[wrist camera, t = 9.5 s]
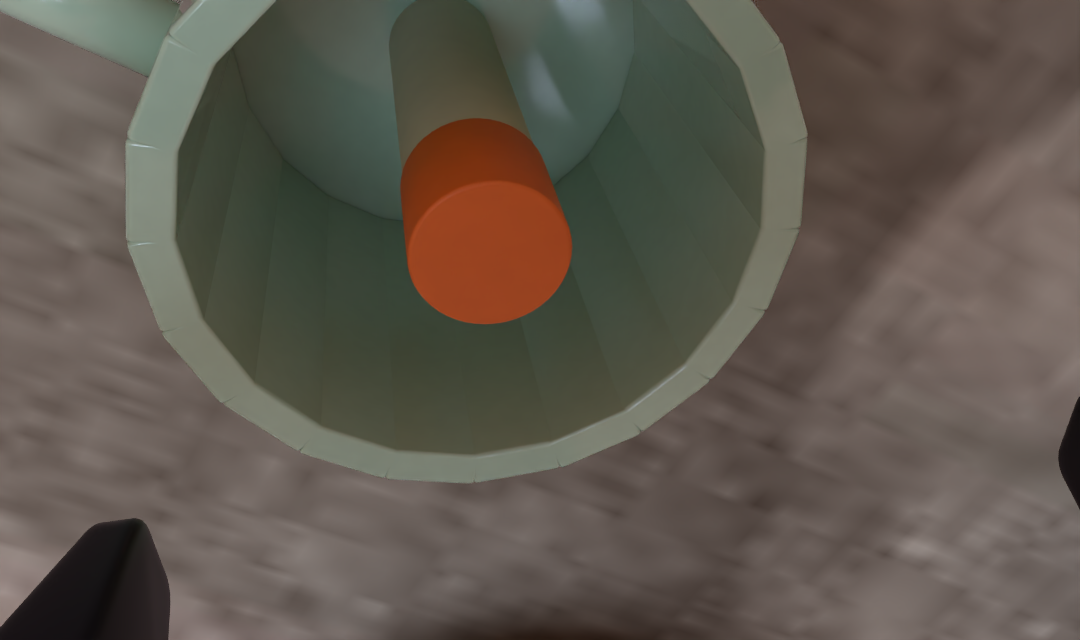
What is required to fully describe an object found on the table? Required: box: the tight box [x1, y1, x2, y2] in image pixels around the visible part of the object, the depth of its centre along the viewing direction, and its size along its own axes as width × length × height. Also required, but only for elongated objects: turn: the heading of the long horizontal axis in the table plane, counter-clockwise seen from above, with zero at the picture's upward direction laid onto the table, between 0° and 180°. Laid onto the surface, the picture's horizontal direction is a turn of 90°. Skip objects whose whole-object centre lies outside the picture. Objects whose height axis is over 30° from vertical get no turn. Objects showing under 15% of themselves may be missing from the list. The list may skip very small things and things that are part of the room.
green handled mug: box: [0, 0, 808, 484], centre depth 15 cm, size 12×9×8 cm
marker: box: [389, 0, 572, 324], centre depth 16 cm, size 2×2×8 cm
